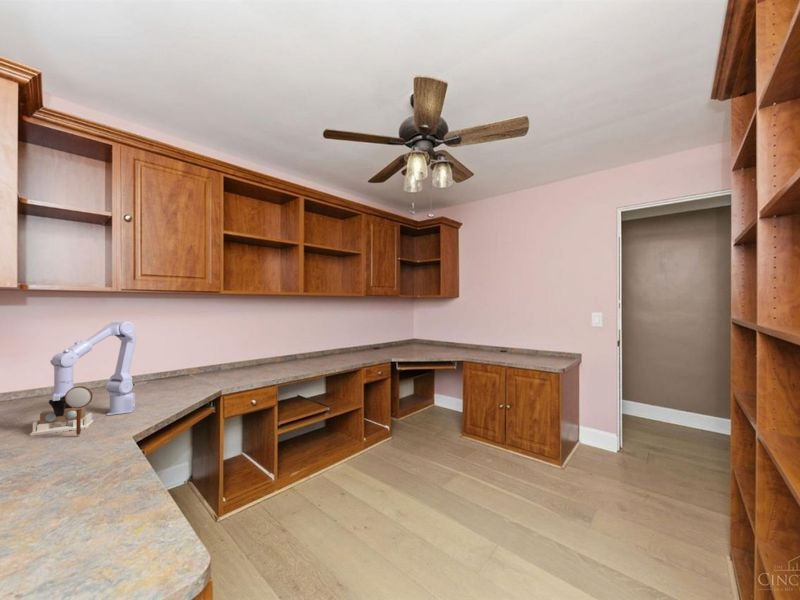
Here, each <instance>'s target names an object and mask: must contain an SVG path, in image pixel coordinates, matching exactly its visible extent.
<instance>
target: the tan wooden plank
mask: <svg viewBox="0 0 800 600" xmlns="http://www.w3.org/2000/svg"><path fill="white" fill-rule="evenodd" d="M80 409H81V419H83V418H84V417H85V416H86V406H84V407H82V408H80ZM39 419H40V424H46V423H54V424H55V423H61V422H63V421H68V422H70V421H71V422H72V421H74V420H77V408H67V409H65V411H64V415H63V416H58V417H56V416H55V413H54V410H53V409H52V410H51V409H50V410H44V411H41V412H40V413H39Z"/></svg>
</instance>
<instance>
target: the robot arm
mask: <svg viewBox="0 0 800 600" xmlns="http://www.w3.org/2000/svg"><path fill="white" fill-rule="evenodd" d="M111 336H113V337H114V336H115V337H117V338H118V339H119V340H120V341H121V342H120V346H119V347H120V348H119V353H118V357H117V362H116V366H115V371H114V373H113V375H111V376H110V377H109V381H108V382H107V383H106V386H105V389H106V391H107V392H108V393H109V412H108V413H106V416H112V415H113V416H114V415H121V414H130V413H132V412H134V411H135V409H136V392H131V391H132V389H133V387H134V384H133V377H132V376H131V375H130V373H131V372H130V371H131V366H132V362H133V357H134V352H135V346H136V343H137V336H136V326H135V325H134V324H133V323H132V322H131V321H110V322H109V323H108V324H105V325H104V326H103V327H102V328H101V329H100V330H98V331H97V332H96V333H94V334H93V335H92V336H90V337H88V339H85V340H79V341H78V340H77V341H76V342H74V344H73V345H71V346H70V347H68V348H67V349H66V348H65V349H64V350H63V352H58V353H56V354H54V355H53V357H52V358H51V360H50V362H49V363H50V364H51V365H52V366H53V371H54V373H53V375H54V376H53V384H54V385H53V388H54V389H53V392H50V393H49V394H50V396H52V399H50V400H48V404H49V405H50V406H51V408H52V410H54V413H55V416H56V417H58V416H63V415H64V411H65V409H67V408H72V407H70V406H68V405H67V404H66V402H65V395H66V393H67V392H68V391H69V390H70V389H72V388H74V365H76V364H77V362H78V360H79V359H80V358H82V357H83V356H85V355H87V354H88V353H89V352H91V351H92V349H93V346H95V345H97V344H99V342H101V341H103V340H104V339H106V338H109V337H111Z"/></svg>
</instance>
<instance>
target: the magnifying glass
mask: <svg viewBox="0 0 800 600" xmlns="http://www.w3.org/2000/svg"><path fill="white" fill-rule="evenodd" d="M92 400H93V393H92V391H91V390H90V389H89V388H88V387H87V386H83V385H82V386H81V385H79V386H73V388H72V389H70V390H69V391H68V392H67V393H66V395H65V402H66V404H67V405H68V406H70V407H72V408H77V423H76V430H75V431H76V436H77V437H78V436H79V437H80V436H81V433H82V431H81V430H82V429H81V409H80V408H82V407H87V406H88V405H89V404H90V403H91V402H92Z"/></svg>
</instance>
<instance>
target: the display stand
mask: <svg viewBox="0 0 800 600" xmlns="http://www.w3.org/2000/svg"><path fill="white" fill-rule="evenodd" d="M93 421H94V419H93V413H92V412H89V413H87V414H86V415H85V417H84V418H83V419H81V430H85V429H84V428H86V429H88V428H89V425H90V424H91V423H92V422H93ZM94 422H95V421H94ZM94 422H93V423H94ZM76 423H77V420H72V421H71V422H70V421H63V422H60V423H56V424H55V423H46V424H40V418H39V419H37V420H36V421H34V422H33V423H32V432H30V433H29V437H33V436H39V435H46V434H56V432H57V433H63V431H64V432H69V430H72V431H76ZM93 423H92V424H93ZM92 424H91V425H92ZM91 425H90V426H91Z"/></svg>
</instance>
